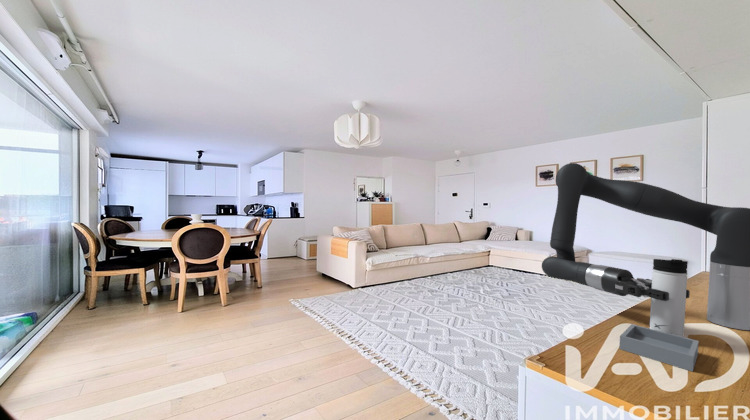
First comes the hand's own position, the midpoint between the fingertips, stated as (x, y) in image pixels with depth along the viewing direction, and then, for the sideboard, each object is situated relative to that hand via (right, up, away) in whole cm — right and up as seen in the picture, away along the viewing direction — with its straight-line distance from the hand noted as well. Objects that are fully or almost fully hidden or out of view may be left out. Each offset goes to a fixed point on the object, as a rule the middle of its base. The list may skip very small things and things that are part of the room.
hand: (678, 295), depth 75 cm
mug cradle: (-11, -11, -6) cm, 16 cm away
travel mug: (-1, -11, +2) cm, 11 cm away
